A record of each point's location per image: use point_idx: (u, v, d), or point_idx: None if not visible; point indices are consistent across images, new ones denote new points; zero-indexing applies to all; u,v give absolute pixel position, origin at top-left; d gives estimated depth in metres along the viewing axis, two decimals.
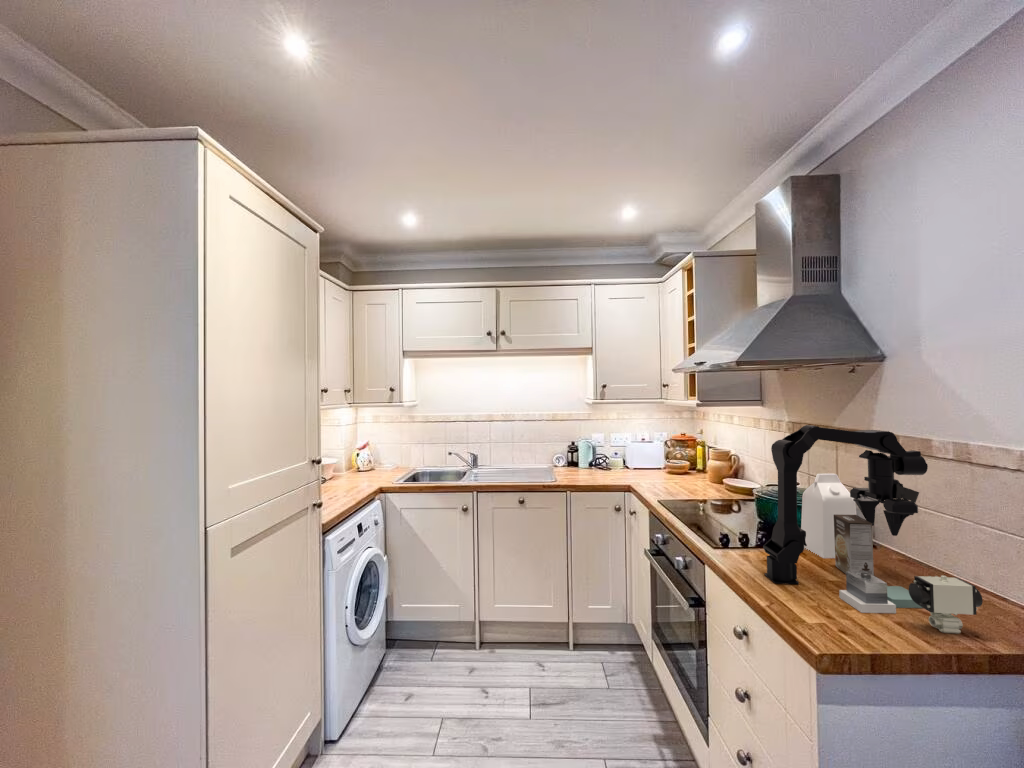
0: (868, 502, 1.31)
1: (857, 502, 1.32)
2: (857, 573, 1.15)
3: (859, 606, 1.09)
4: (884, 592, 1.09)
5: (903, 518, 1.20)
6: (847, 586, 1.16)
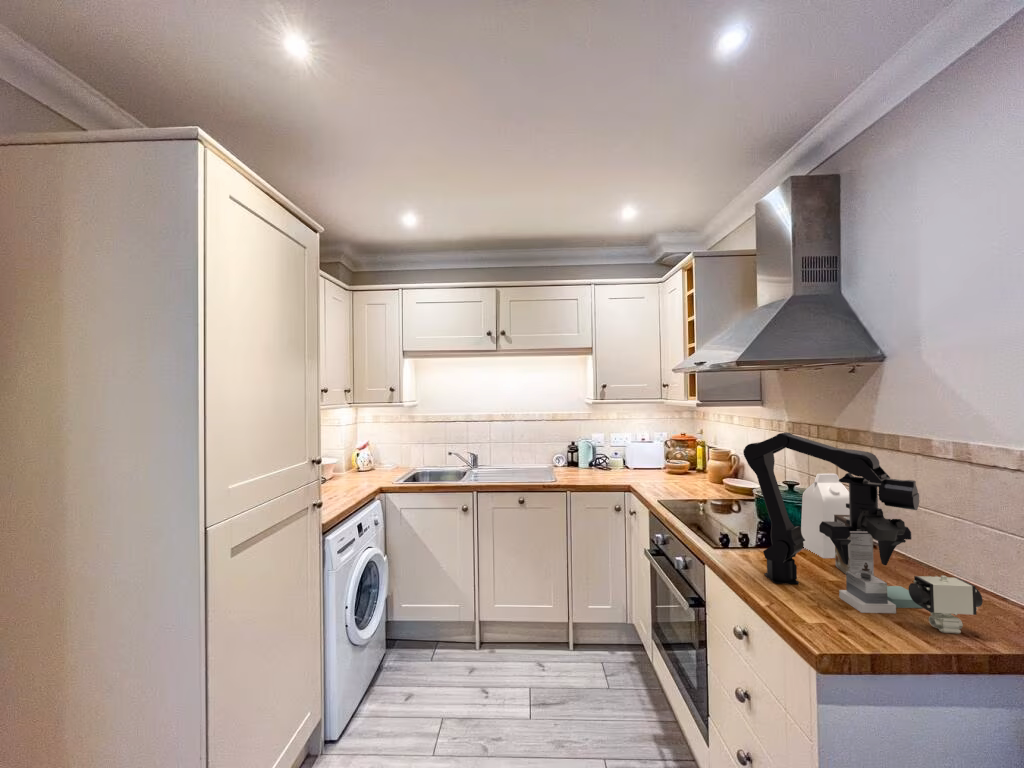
0: None
1: None
2: (857, 573, 1.15)
3: (859, 606, 1.09)
4: (884, 592, 1.09)
5: (841, 545, 1.12)
6: (847, 586, 1.16)
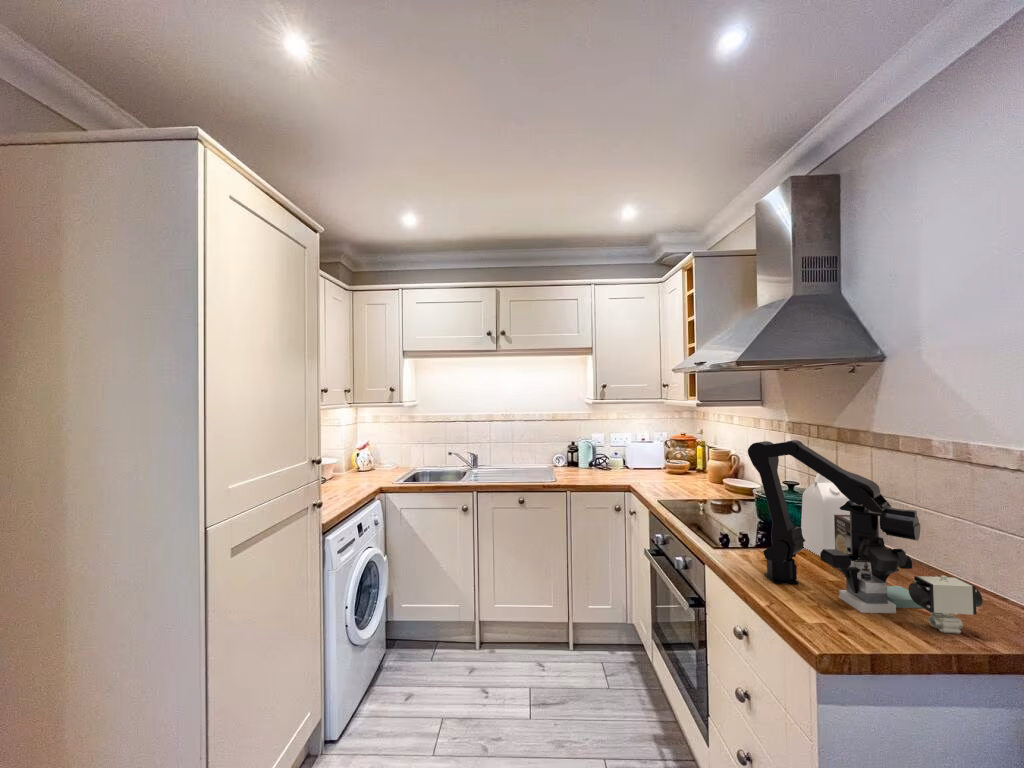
0: None
1: None
2: None
3: (859, 606, 1.09)
4: (884, 592, 1.09)
5: (850, 574, 1.12)
6: (847, 586, 1.16)
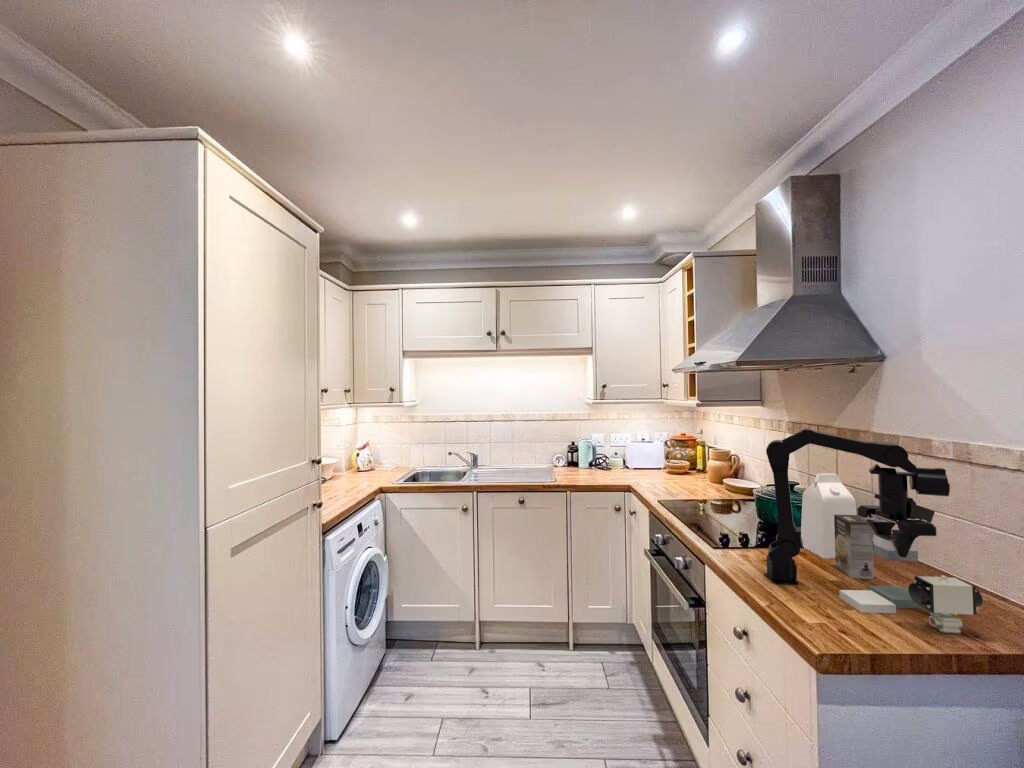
0: (883, 523, 1.18)
1: (871, 523, 1.19)
2: (887, 538, 1.14)
3: (859, 606, 1.09)
4: None
5: (913, 538, 1.10)
6: (889, 555, 1.12)
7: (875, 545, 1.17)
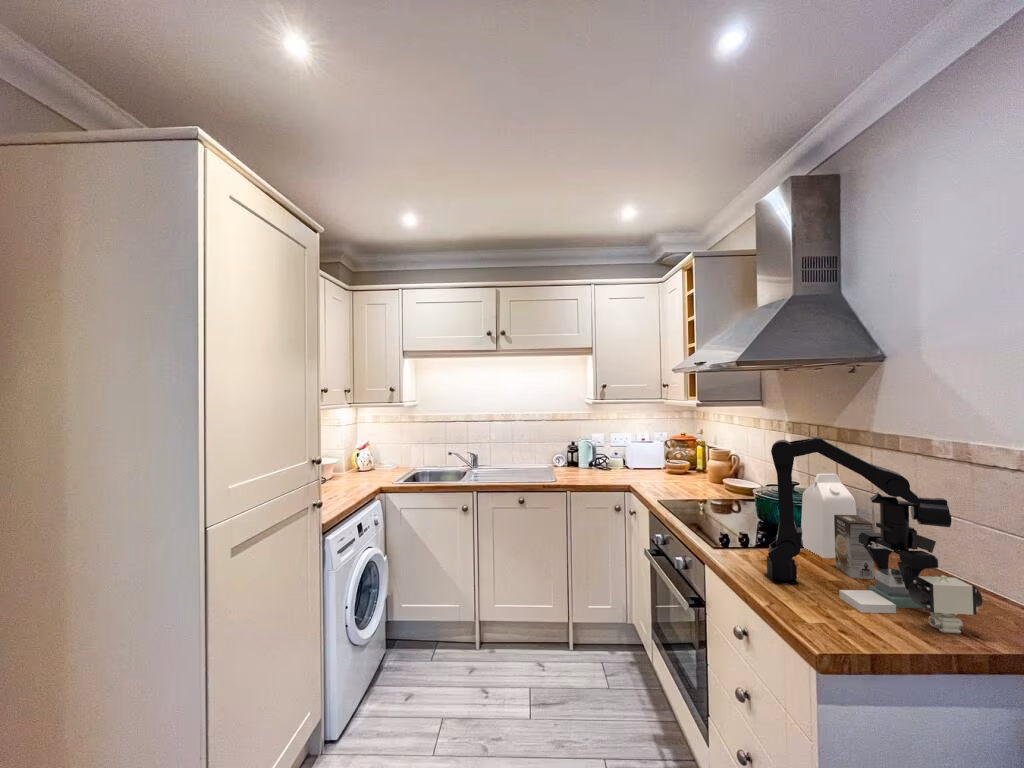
0: (881, 550, 1.19)
1: (869, 550, 1.20)
2: (888, 573, 1.14)
3: (859, 606, 1.09)
4: None
5: (919, 571, 1.09)
6: (891, 591, 1.12)
7: (876, 580, 1.17)
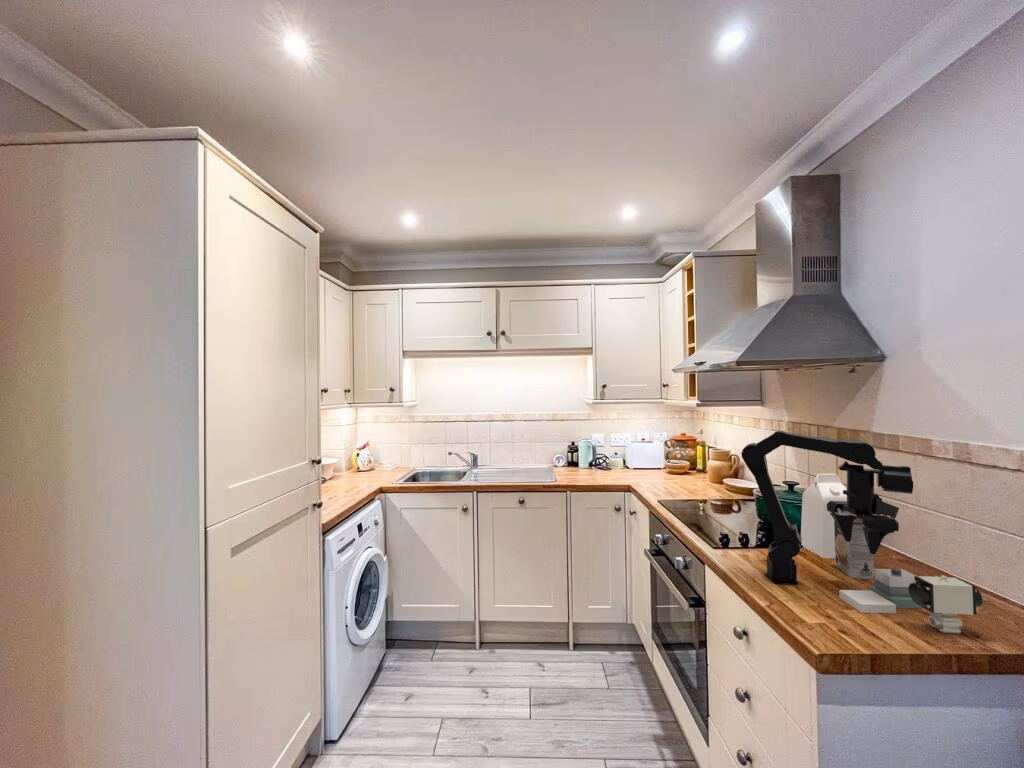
0: (845, 517, 1.24)
1: (834, 516, 1.24)
2: (888, 573, 1.14)
3: (859, 606, 1.09)
4: None
5: (883, 536, 1.12)
6: (891, 591, 1.12)
7: (876, 580, 1.17)
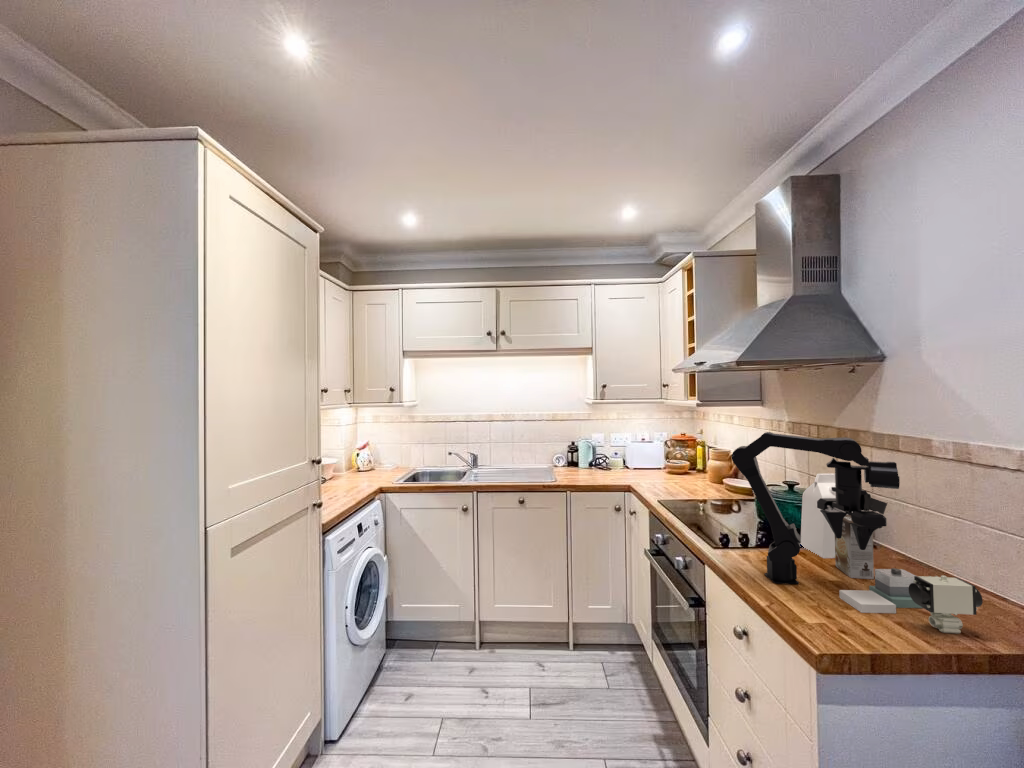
0: (835, 513, 1.25)
1: (824, 513, 1.26)
2: (888, 573, 1.14)
3: (859, 606, 1.09)
4: None
5: (871, 531, 1.13)
6: (891, 591, 1.12)
7: (876, 580, 1.17)
